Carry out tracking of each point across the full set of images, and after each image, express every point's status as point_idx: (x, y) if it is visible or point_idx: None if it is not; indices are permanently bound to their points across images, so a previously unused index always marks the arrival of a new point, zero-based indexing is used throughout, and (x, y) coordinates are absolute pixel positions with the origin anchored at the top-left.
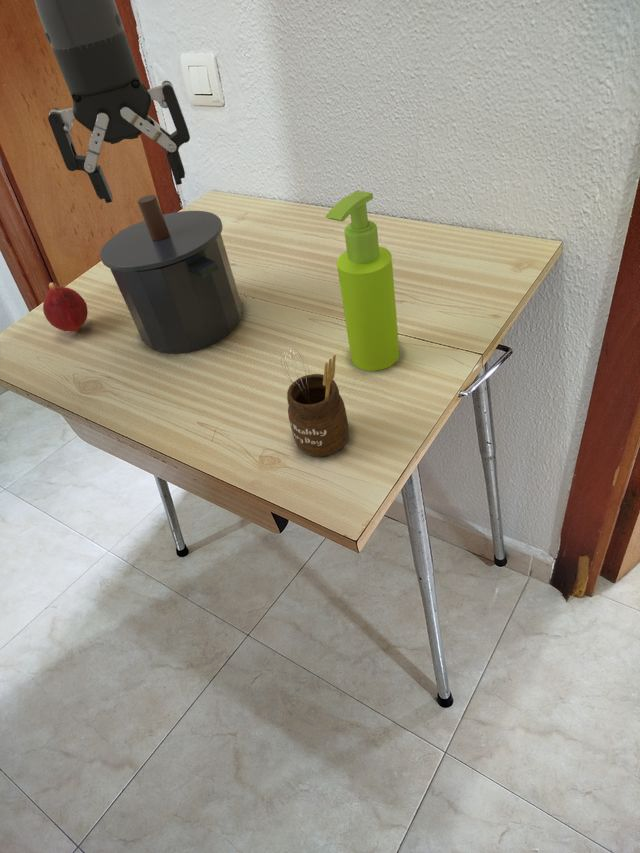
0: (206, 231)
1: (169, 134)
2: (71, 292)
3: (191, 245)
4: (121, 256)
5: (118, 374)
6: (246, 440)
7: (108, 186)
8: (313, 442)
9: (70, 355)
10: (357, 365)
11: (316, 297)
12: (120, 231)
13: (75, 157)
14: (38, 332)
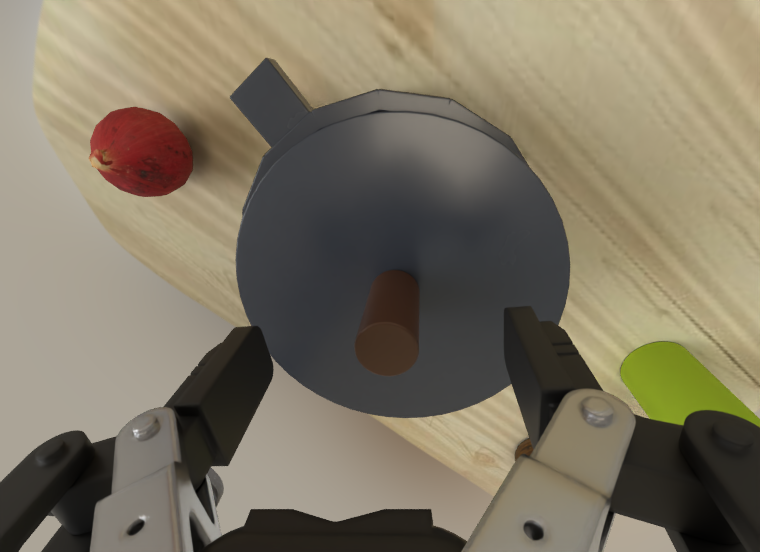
0: None
1: (624, 464)
2: (148, 157)
3: (477, 380)
4: (308, 351)
5: None
6: (465, 434)
7: (243, 346)
8: None
9: (197, 222)
10: (623, 381)
11: (641, 198)
12: (234, 97)
13: (91, 513)
14: (93, 123)
